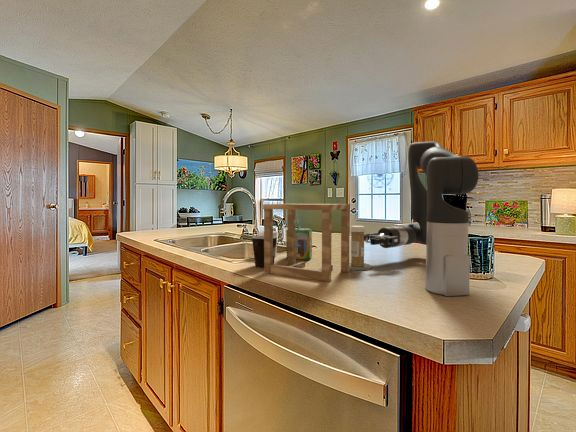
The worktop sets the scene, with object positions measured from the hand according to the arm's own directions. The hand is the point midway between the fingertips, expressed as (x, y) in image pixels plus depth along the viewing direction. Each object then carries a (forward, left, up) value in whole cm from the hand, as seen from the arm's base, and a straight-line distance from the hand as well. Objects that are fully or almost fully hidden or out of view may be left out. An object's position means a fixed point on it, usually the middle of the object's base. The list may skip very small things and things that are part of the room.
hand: (361, 240), depth 108 cm
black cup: (+25, +30, -9) cm, 40 cm away
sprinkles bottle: (-1, +2, -9) cm, 9 cm away
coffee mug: (+5, +34, -9) cm, 36 cm away
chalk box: (+19, +18, -9) cm, 28 cm away
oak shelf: (-5, +20, -9) cm, 23 cm away
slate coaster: (-1, +2, -9) cm, 9 cm away
